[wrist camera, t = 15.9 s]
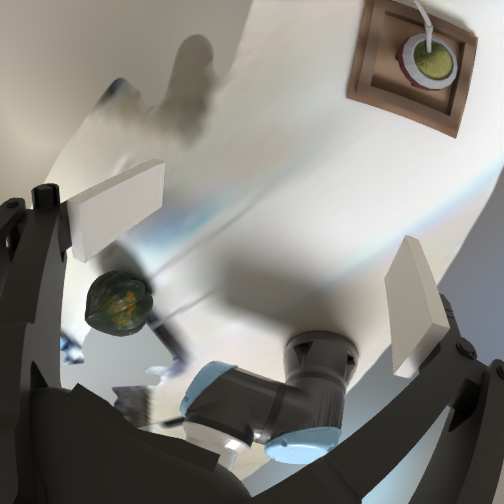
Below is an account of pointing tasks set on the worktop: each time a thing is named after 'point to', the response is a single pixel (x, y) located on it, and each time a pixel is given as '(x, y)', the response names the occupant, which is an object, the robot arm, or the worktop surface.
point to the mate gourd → (427, 59)
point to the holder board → (392, 78)
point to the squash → (117, 304)
